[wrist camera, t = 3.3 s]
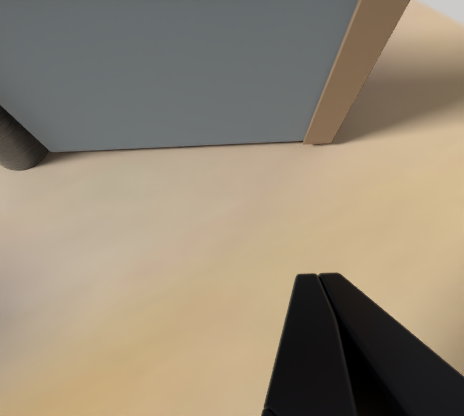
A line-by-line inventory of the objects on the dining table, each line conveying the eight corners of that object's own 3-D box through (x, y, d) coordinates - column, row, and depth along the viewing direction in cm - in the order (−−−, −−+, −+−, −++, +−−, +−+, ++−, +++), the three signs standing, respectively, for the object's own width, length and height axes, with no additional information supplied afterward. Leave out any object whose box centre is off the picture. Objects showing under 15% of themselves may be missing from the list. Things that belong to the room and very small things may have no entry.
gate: (50, 156, 21) (-193, -66, 9) (53, 120, 21) (-174, -135, 9) (330, 143, 21) (460, -91, 9) (326, 107, 22) (443, -157, 10)
